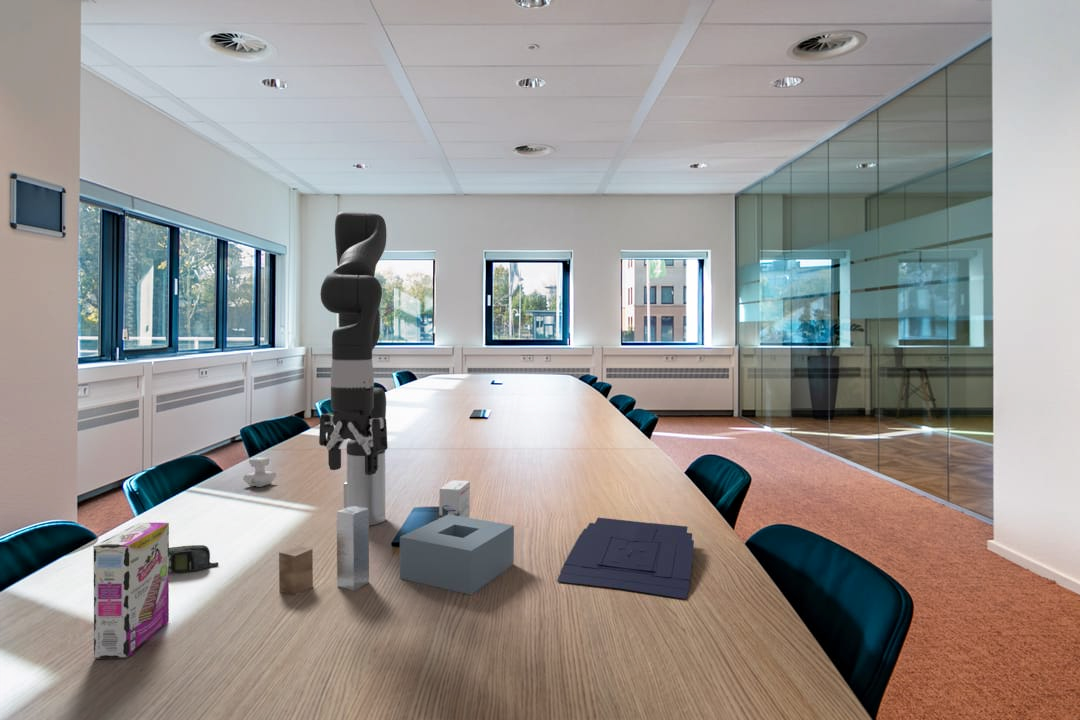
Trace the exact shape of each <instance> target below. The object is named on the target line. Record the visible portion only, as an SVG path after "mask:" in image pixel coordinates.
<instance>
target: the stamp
mask: <svg viewBox="0 0 1080 720" xmlns="http://www.w3.org/2000/svg"><path fill="white" fill-rule="evenodd" d="M248 463H249V465H250V466H251V468H254V469H255V471H253V472H250V473H246V474H245V475H244V476H243V481H244V482H245V483H246V484H247V485H248V486H250V487H254V486H256V488H257V487H258V488H262V487H264V486H265V487H266V486H268V485H270V484H272V482H274V480H275V479H276V478H277V473H276V472H275V471H272V470H271V471H268V470H265V467H267V466H269V464H270V458H269V457H259V456H258V457H254V458H250V459H248Z"/></svg>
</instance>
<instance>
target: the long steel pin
mask: <svg viewBox="0 0 1080 720" xmlns="http://www.w3.org/2000/svg"><path fill="white" fill-rule="evenodd" d="M368 583H370V526H369V508H363V507H357V506H350V507H347V508H345V509H344V508H342V509H340V510H336V586H337V587H339V588H343V589H347V590H350V591H355V590H357V589H359V588H361V587H363V586H365V585H367V584H368Z"/></svg>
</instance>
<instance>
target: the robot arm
mask: <svg viewBox="0 0 1080 720" xmlns="http://www.w3.org/2000/svg"><path fill="white" fill-rule="evenodd" d="M334 237H335V250H336V261H337V262H336V263H337V266H336V267H335V268H334V269H332V270H331V271H330V272H329V273H328V274H327V275H326V276H325V278H324V280H323V282H322V284H321V287H320V288H321V289H320V300H321V303H322V305H323V307H324V308H325V309H326V310H327V311H328V312H331V313H334V314H338V327H337V328H335V329H334V330H333V331H332V336H331V353H332V355H331V359H332V360H331V368H330V409H331V410H332V411H333V412H329V413H323V414H322V413H321V414H320V416H319V437H318V438H319V439H318V443H319V445H320V446H321V447H322V446H323V447H325V448H326V449H327V450H328V452H327V453H328V459H327V460H328V466H329V470H330V471H337V470H339V469H341V468H342V449H341V447H342V444H343V443H344V441H346V440H349V441H347V443H346V482H344V483H343V509H345V508H347V507H350V506H357V507H363V508H369V527H370V526H375V525H379V524H381V523H383V522H385V521H386V451H387V449H388V433H387V432H388V430H387V428H388V427H387V419H386V415H387V397H386V396H387V395H386V392H385V390H384V389H383V388H382V387H375V385H374V384H375V382H374V381H375V377H374V366H373V364H374V363H373V350H374V349H375V348H376V346H377V343H378V342H379V339H380V333H381V331H380V329H381V328H380V324H381V323H380V322H381V321H380V319H381V318H380V317H381V316H380V309H379V308H380V306H381V303H382V302H381V301H382V297H383V289H382V284H381V283H380V281H379V280H378V279H377V278H376V277H375V274H376V268H377V264H378V263H379V261H380V259H382V255H383V254H384V252H385V249H386V245H387V224H386V221H385V219H384V217H383V216H382V215H380V214H379V213H372V212H369V213H367V212H356V211H355V212H354V211H340V212H338V213H337V214H336V216H335V221H334Z"/></svg>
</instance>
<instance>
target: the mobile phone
mask: <svg viewBox="0 0 1080 720" xmlns="http://www.w3.org/2000/svg"><path fill="white" fill-rule="evenodd" d="M218 566H219V562H211V552H210V549H209V547H208V546H206V545H203V544H198V545H195V544H194V545H193V544H192V545H182V546H173V547H169V575H181V573H182V574H188V573H189V574H190V573H194V572H196V571H199V570H203V569H205V568H212V567H218Z"/></svg>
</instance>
